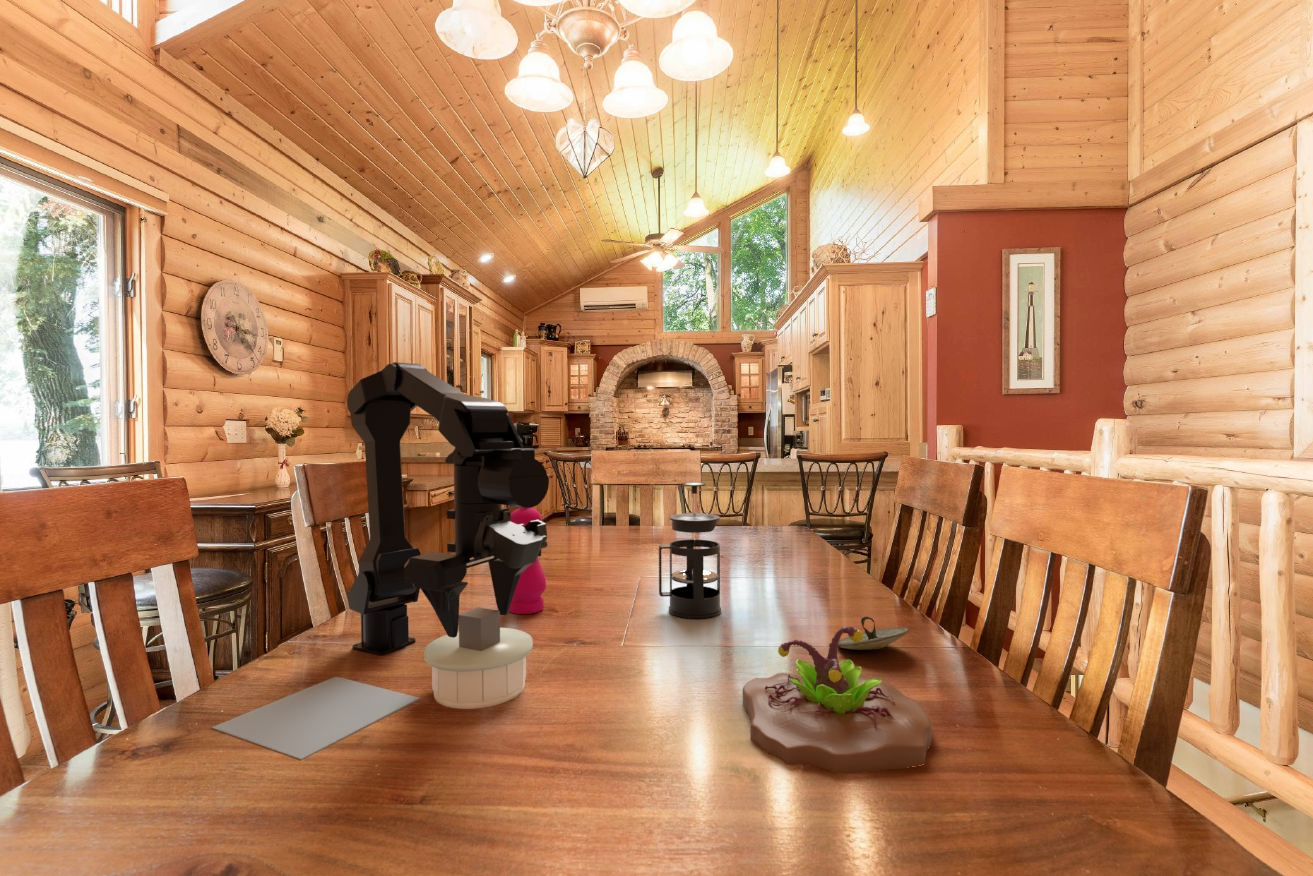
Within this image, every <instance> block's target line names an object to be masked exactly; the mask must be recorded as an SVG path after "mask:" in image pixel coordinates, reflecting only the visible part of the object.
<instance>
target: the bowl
mask: <svg viewBox="0 0 1313 876" xmlns="http://www.w3.org/2000/svg"><path fill="white" fill-rule="evenodd" d="M526 678H527V656H526V657H524V658H523V659H521V660H519V661H517V662H514V663H512V664H509V665H506V666H502V667H498V668H493V669H488V670H481V671H467V672H459V671H447V670H441V669H438V668H435V667H432V666H431V690H432V691H433V698H434V700H435V702H436V703H438V704H440V705H441V706H443V707H447V708H452V709H457V710H458V709H460V710H473V709H474V710H475V709H477V710H478V709H485V708H489V707H493V706H497V705H501V704H503V703H507V702H509V701H510V700H513V699H515V698H516V697H518V696H519V695H521V693H522V692H523V691H524V690H525V687H526Z"/></svg>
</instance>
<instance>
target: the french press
mask: <svg viewBox="0 0 1313 876" xmlns="http://www.w3.org/2000/svg"><path fill="white" fill-rule="evenodd" d="M682 486H685V487H691V494H692V495H693V496H692V497H693V498H692V499H693V501H692V502H693V512H685V513H677V514H673V515H670V516H669V520H670V521H671V529H672V530H673V531H675V532H680V533H689V534H690V533H691V534H693V539H679V540H678V539H677V540H674V541H671V542H670V543H669V544H660V545H658V594H659V597H669V606H668V612H669V614H671V615H672V616H674V617H678V618H681V619H682V618H683V619H690V620H691V619H692V620H697V619H698V620H701V619H710V618H713V617H716V616H719V615H720V614H721V613H722V607H721V572H720V571H721V544H720V543H719V542H717V541H714V540H709V539H696V533H698V534H699V533H702V534H703V533H710V532H713V531H714V529H715V528H716V526H717V523H718V521H720V519H721V517H720V516H719V515H718V514H717V515H716V514H711V513H702V512H697V511H696V494H698V487H705V486H707V484H706V483H705V482H700V481H698V482H697V481H693V482H690V481H689V482H685V483H682ZM697 547H699V548H697ZM700 547H701V548H700ZM663 549H664V550H665V549H667V550H668V549H669V591H667V592H666V591H664V592H663V590H662V589H663V588H662V586H663V585H662V584H663V583H662V579H663V577H662V550H663ZM673 555H674V556H675V555H676V556H680V557H681V556H682V557H686V569H684V570H677V571H675V572H673V569H672V568H673V567H672V566H673V563H672V560H673V558H672V557H673ZM715 555H716V572H715V571H712V570H711V571H710V570H704V557H710V556H711V557H712V556H715ZM673 581H674V582H677V583H680V584H686V585H684V586H679V587H678V586H677V587H675V588H673ZM714 582H717V583H716V588H715V587H714V588H713V587H711V586H704V585H705V584H712V583H714Z"/></svg>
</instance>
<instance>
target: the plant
mask: <svg viewBox="0 0 1313 876" xmlns="http://www.w3.org/2000/svg"><path fill="white" fill-rule="evenodd" d="M863 633H864V632H863V631H861V630H860V629H859V628H857V627H856V626H854V627H853V626H849V625H847V626H841V627H840V628H839V629H838V630H837V631H836V632H835V633H834V636H833V637H832V638H831V641H830V643H829V644H828V647H829V648H828V653H827V657H824V656H823V655H821V654H820V652H818V650H817V649H816V647H814V646H812V645H811V644H809V643H807V642H806V641H803V640H799V639H794V640H791V641H790V640H789V641H787V642H784V643H782V644H780V645H779V646H778V650H777V653H778V654H779V656H780V657H787V656H788V655H789V653H790V649H791V646H796V645H797V647H798V646H799V647H802V649H805V650H806V651H807V652H808V655H809V656H811V659H812V660H813V665H812V664H811V663H809V662H807V661H806V660H805V661H804V660H802V659H796V661H795V664H796V667H798V669H796V673H791V672H777V673H776V674H773V675H772V676H769V677H763V678H762V677H755V678H753V679H751V680H749V681H748V682H746V683H745V684H744V685H743V687H742V706H743V708H744V710H745V712H746V713H747V715H748V717H749V720H750V728H749V729H750V730H749V731H750V732H749V733H750V735H749V736H750V737H749V738H750V740H751V742H754V743H755V744H756V745H757V746H758V748H760V749H761V750H762V751H763V752H765V753H766V754H768V755H771V756H773V757H774V758H777V759H778V760H780V761H782V762H783V763H784V764H785V765H788V766H792V765H793V766H794V765H795V766H796V765H810V766H809V767H812V766H815V768H817V767H819V769H821V768H822V770H824V769H826V770H825V771H827V770H829V771H828V772H830V771H831V773H832V772H834V773H833V774H836V773H851V774H857V773H856V772H860V773H868V772H867V771H872V772H878V770H882V771H888V770H887V769H891V770H902V769H901V768H905V769H907V768H906V767H912V766H919V765H922V764H924V763H925V764H926V760H925V758H926V757H927V752H928V750H929V749H928V747H930V745H931V743H932V739H933V738H932V735H933V734H932V731H933V730H932V721H931V719H930V717H929V716H928V714H927V713H926V712H925V709H924V708H923V707H922V705H921V703H920V702H918V701H917V700H915V699H913V698H911V697H908V696H906V695H905V694H903V693H902V692H901V691H900V690H899V689H898V688H896V687H895V686H894V685H892V684H891V682H889V681H884V680H882V679H879V678H871V677H866V676H862V672H863V670H862V666H856V667H855V664H854V662H853V661H852V660H851V659H846V660H844V661H841V662H839V659H838V647H839V646H838V643H839V641H840V639H841V636H842V635H843V634H847V637H849V638H850V639H851V640H852V641H854V642H856V643H858V642H861V640H863ZM931 746H932V745H931ZM930 748H931V747H930ZM927 749H928V750H927ZM926 751H927V752H926ZM899 768H900V769H899ZM885 769H886V770H885ZM876 770H877V771H876ZM865 771H866V772H865Z"/></svg>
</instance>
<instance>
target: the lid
mask: <svg viewBox="0 0 1313 876" xmlns="http://www.w3.org/2000/svg"><path fill="white" fill-rule="evenodd" d="M866 620H871V621H872V622H873V629H872V631H870V630H868V629H867V628H866V627H865V621H866ZM860 623H861V627H862V628H863V630H864V632H862V633H863V640H861V642H858V643H856V642H854V641H852V640H851V639H850V638H849V636H847V637H844V638H842V639H841V640H839V643H838V647H839V648H842V649H846V650H847V649H848V650H854V651H857V650H858V651H861V650H865V651H866V650H880V649H883V648H885V647H887V646H888V645H890V644H893V643H894V642H896V641H898V640H900V639H902V638H903V637H904V636H906V635H907V634H909V632H910V629H909V628H907V627H904V626H901V627H889V628H882V629H877V630H876V624H875V620H874V619H873V618H872V617H870V616H868V615H867V616H863V617H861V620H860Z"/></svg>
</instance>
